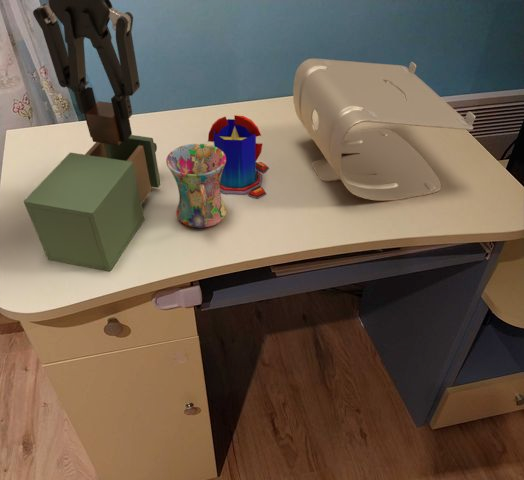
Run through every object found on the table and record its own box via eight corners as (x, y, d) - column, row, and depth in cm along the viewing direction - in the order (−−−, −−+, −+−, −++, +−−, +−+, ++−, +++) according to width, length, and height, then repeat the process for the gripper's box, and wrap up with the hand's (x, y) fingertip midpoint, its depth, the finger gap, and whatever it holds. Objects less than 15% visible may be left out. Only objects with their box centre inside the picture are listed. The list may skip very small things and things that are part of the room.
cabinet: (87, 209, 86) (70, 152, 78) (144, 219, 84) (132, 161, 76) (47, 259, 78) (23, 201, 69) (110, 271, 76) (92, 213, 68)
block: (92, 141, 78) (85, 113, 74) (105, 128, 80) (98, 100, 77) (118, 145, 77) (112, 117, 74) (130, 132, 80) (124, 104, 76)
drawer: (122, 164, 93) (112, 118, 87) (169, 171, 92) (162, 125, 85) (80, 216, 83) (65, 169, 76) (132, 225, 82) (121, 178, 75)
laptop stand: (288, 140, 101) (293, 58, 89) (393, 125, 106) (411, 45, 94) (334, 212, 86) (347, 125, 74) (454, 192, 90) (485, 106, 78)
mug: (172, 203, 87) (163, 146, 79) (224, 197, 89) (220, 140, 80) (179, 246, 80) (171, 188, 72) (236, 239, 81) (234, 181, 73)
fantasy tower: (200, 196, 89) (194, 131, 79) (208, 161, 96) (204, 98, 87) (266, 199, 88) (267, 134, 79) (269, 163, 96) (271, 100, 87)
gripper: (146, -52, 61) (171, 131, 79) (20, -62, 64) (72, 117, 82) (120, -36, 57) (153, 155, 75) (-14, -47, 59) (49, 140, 77)
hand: (111, 135), depth 78 cm, fingers closed on block, 4 cm apart
